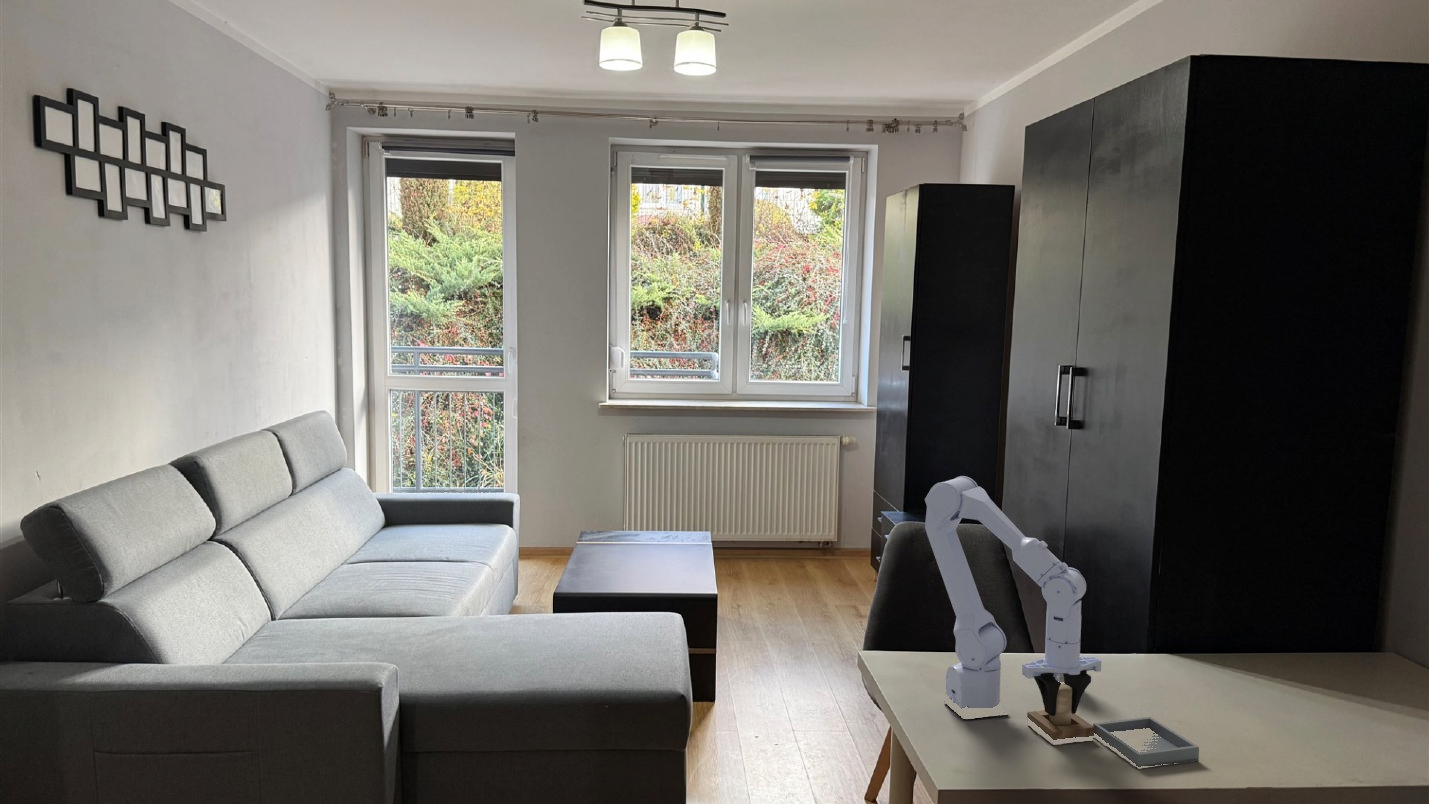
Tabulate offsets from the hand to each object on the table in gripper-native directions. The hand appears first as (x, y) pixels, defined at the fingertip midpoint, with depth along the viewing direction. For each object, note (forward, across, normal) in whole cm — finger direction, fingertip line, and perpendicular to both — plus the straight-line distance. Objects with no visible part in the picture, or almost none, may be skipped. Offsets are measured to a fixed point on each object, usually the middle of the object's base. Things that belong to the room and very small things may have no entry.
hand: (1060, 712), depth 156 cm
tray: (+4, +10, -8) cm, 14 cm away
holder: (+4, 0, 0) cm, 4 cm away
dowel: (+3, 0, 0) cm, 3 cm away
